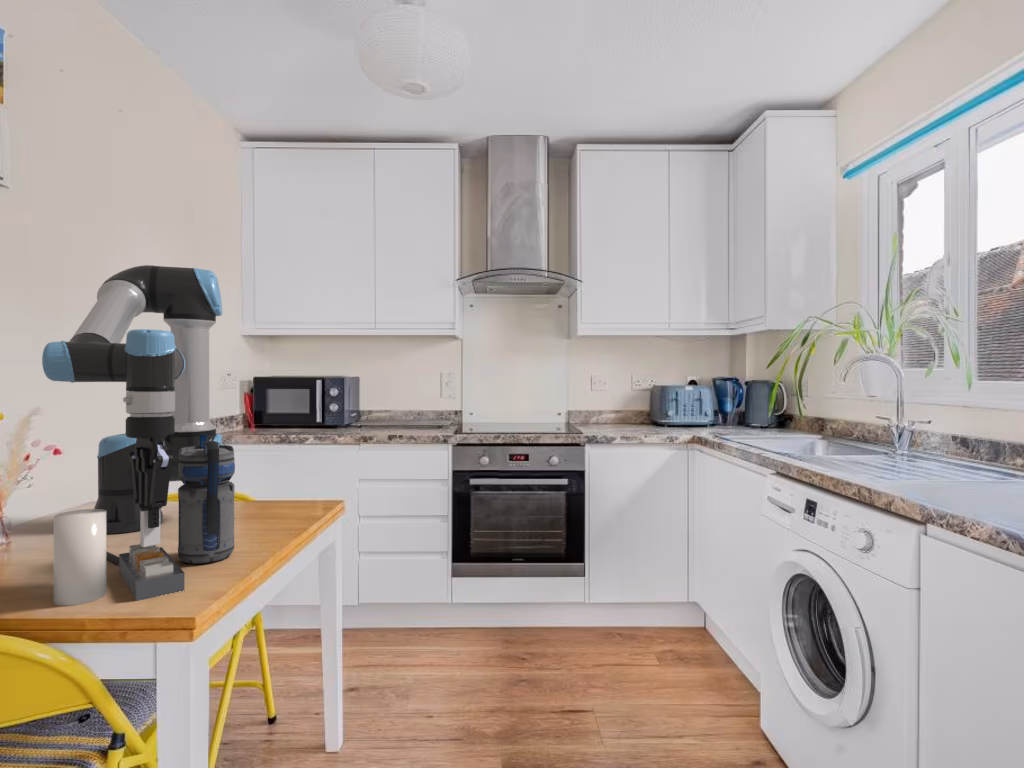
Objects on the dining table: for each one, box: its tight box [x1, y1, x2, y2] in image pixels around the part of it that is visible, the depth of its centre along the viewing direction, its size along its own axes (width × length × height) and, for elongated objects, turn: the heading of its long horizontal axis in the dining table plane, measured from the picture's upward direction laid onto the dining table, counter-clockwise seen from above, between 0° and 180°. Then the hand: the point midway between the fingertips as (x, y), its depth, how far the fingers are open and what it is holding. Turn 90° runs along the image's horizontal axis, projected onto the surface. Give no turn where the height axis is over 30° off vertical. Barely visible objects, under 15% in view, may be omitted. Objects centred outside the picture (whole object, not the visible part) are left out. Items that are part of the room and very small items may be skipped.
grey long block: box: [118, 543, 185, 602], centre depth 103 cm, size 20×7×5 cm, turn 41°
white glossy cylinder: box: [53, 508, 107, 607], centre depth 94 cm, size 7×7×14 cm
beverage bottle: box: [177, 434, 236, 565], centre depth 115 cm, size 10×13×25 cm
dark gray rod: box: [106, 550, 119, 566], centre depth 114 cm, size 11×1×1 cm, turn 54°
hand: (150, 544), depth 103 cm, fingers closed
